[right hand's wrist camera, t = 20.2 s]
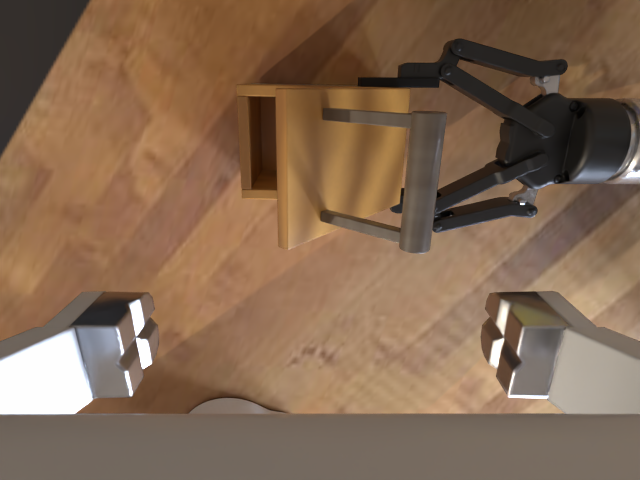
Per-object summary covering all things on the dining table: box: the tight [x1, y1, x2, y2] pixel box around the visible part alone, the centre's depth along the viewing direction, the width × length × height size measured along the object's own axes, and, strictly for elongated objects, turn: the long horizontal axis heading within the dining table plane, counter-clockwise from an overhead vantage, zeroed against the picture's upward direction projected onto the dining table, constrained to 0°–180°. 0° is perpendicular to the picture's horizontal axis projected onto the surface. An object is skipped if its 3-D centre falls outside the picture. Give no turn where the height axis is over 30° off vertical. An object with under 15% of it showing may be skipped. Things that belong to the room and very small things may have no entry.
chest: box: [236, 83, 398, 199], centre depth 39 cm, size 13×9×9 cm
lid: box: [275, 88, 447, 253], centre depth 27 cm, size 14×9×8 cm
